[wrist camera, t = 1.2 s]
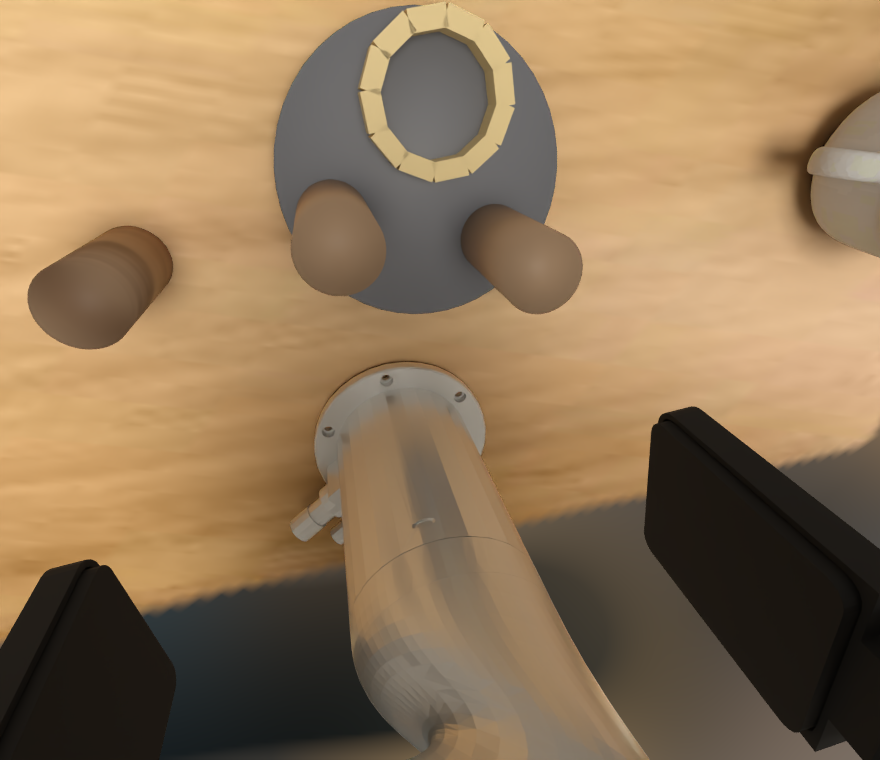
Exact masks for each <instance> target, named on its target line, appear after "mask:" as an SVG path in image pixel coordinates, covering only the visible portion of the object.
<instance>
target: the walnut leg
mask: <svg viewBox="0 0 880 760" xmlns="http://www.w3.org/2000/svg"><path fill="white" fill-rule="evenodd" d="M172 272H173V262H172V258H171V255H170V253H169V251H168V249H167V248H166V246H165V245H164V244H163V242H162V241H161V240H160V239H159V238H157V237H156V236H155V235H153V234H152V233H150V232H148V231H146V230H144V229H141V228H138V227H133V226H121V227H116V228H113V229H111V230H109V231H107V232H105V233H104V234H102V235H100V236H99V237H97V238H95V239H94V240H92V241H90V242H88V243H87V244H85V245H83V246H82V247H80V248H78V249H77V250H75V251H73V252H72V253H70V254H68V255H67V256H65V257H63V258H62V259H60V260H58V261H57V262H55V263H53V264H52V265H50V266H48V267H47V268H45V269H43V270H42V271H40V272H39V273H38V274H37V275H36V276H35V277H34V279H33V280H32V282H31V284H30V286H29V289H28V305H29V309H30V312H31V314H32V316H33V318H34V319H35V321H36V322H37V324H38V325H39V326H40V327H41V328H42V329H43V330H44V331H45V332H46V333H47V334H48V335H50V336H51V337H52V338H54V339H56V340H57V341H59V342H61V343H63V344H66V345H68V346H71V347H75V348H80V349H100V348H105V347H108V346H110V345H113V344H115V343H116V342H118V341H119V340H120V339H122V338H123V337H124V335H125V334H126V333H127V332H128V331H129V329H130V328H131V327H132V326H133V325H134V323H135V322H136V321H137V320H138V319H139V317H140V316H141V315H142V314H143V313H144V311H145V310H146V309H147V308H148V307H149V305H150V304H151V303H152V302H153V300H154V299H155V298H156V297H157V296H158V294H159V293H160V292H161V291H162V290H163V288H164V287H165V286H166V285H167V284H168V282H169V280H170V278H171V276H172Z"/></svg>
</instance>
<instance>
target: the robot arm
mask: <svg viewBox="0 0 880 760" xmlns="http://www.w3.org/2000/svg"><path fill="white" fill-rule="evenodd" d="M384 375H388V377H386V378H383V377H382V376H384ZM458 392H459V393H458ZM456 393H458V394H456ZM326 427H329V428H326ZM485 434H486V427H485V421H484V415H483V413H482V410H481V408H480V405H479V403H478V401H477V400H476V398H475V396H474V395H473V393H472V392H471V390H470V389H469V388H468V387H467V386H466V385H465V384H464V383H463V382H462V381H461V380H460V379H458V378H457V377H456V376H454V375H453V374H452V373H450V372H448V371H445V370H443V369H441V368H439V367H437V366H432V365H428V364H424V363H416V362H398V363H390V364H385V365H381V366H378V367H375V368H371V369H369V370H367V371H365V372H363V373H361V374H359V375H357V376H355V377H353V378H352V379H351V380H349V381H348V382H346V383H345V384H344V385H342V386H341V387H340V388H339V389H338V390H337V391H336V392H335V393H334V394H333V396H332V397H331V398H330V399H329V400H328V402H327V404H326V405H325V407H324V408H323V410H322V412H321V414H320V417H319V419H318V422H317V425H316V430H315V438H314V448H315V458H316V463H317V467H318V469H319V471H320V473H321V475H322V477H323V479H324V481H325V482H326V483H327V484H326V485H325V486H324V487H323V488H322V489H321V490H320V491H319V498H318V499H317V500H316V501H315V502H313V503H312V504H311V505H308V506H307V507H306V508H305V509H304V510H303V511H301V512H300V513H299V514H298V515H297V516H296V517H294V518H293V519H292V520H291V521H290V527H291V530H292V532H293V533H294V535H295V536H296V537H297V538H299V539H300V540H302V541H305V542H306V541H308V540H310V539H311V538H312V537H313V536H314V535H315V534H317V533H318V532H319V531H320V530H321V529H323V528H324V527H325V526H326V524H327V523H328V522H329V521H330V520H331V519H333V518H334V517H335V516H336V517H342V521H341V522H339V523H338V524H337V525H336V526H335V527H333V528H332V529H331V532H330V533H331V536H332V538H333V539H334V541H336V542H337V543H338V544H343V543H344V554H345V567H346V580H347V593H348V607H349V622H350V634H351V646H352V654H353V660H354V664H355V668H356V671H357V674H358V677H359V680H360V682H361V684H362V686H363V688H364V690H365V692H366V694H367V696H368V698H369V699H370V701H371V702H372V704H373V705H374V706H375V708H376V709H377V710H378V712H379V713H380V714H381V715H382V717H383V718H384V719H385V720H386V721H387V722H388V723H389V724H390V725H391V726H392V727H393V728H394V729H395V730H396V731H397V732H398V733H399V734H400V735H401V736H402V737H404V738H405V739H406V740H407V741H409V742H410V743H411V744H412V745H413V746H414V747H416V748H417V749H418V750H419V751H420V752H421V753H420V754H419V755H417V756H415V757H412V758H410V759H408V760H650V759H649V758H648V756H647V755H646V754H645V752H644V751H643V749H642V748H641V747H640V745H639V744H638V742H637V741H636V740H635V738H634V737H633V735H632V734H631V732H630V731H629V730H628V728H627V727H626V725H625V724H624V722H623V721H622V719H621V718H620V716H619V715H618V714H617V712H616V711H615V709H614V708H613V706H612V705H611V703H610V702H609V700H608V699H607V697H606V696H605V694H604V693H603V691H602V689H601V688H600V686H599V685H598V683H597V681H596V680H595V678H594V677H593V675H592V673H591V672H590V670H589V669H588V667H587V666H586V664H585V662H584V660H583V659H582V657H581V655H580V653H579V652H578V650H577V648H576V646H575V644H574V643H573V641H572V639H571V637H570V636H569V634H568V632H567V630H566V628H565V626H564V624H563V622H562V620H561V618H560V616H559V614H558V613H557V610H556V609H555V607H554V605H553V603H552V601H551V599H550V597H549V595H548V593H547V591H546V589H545V587H544V585H543V583H542V580H541V578H540V576H539V574H538V572H537V570H536V569H535V567H534V565H533V562H532V560H531V558H530V556H529V554H528V552H527V550H526V548H525V546H524V544H523V542H522V540H521V538H520V536H519V534H518V532H517V530H516V528H515V525H514V523H513V521H512V519H511V517H510V515H509V513H508V511H507V509H506V507H505V505H504V503H503V501H502V499H501V497H500V495H499V493H498V491H497V489H496V487H495V484H494V482H493V480H492V478H491V476H490V474H489V472H488V470H487V468H486V466H485V464H484V462H483V460H482V458H481V455H482V451H483V448H484V444H485ZM644 535H645V539H646V542H647V545H648V547H649V549H650V550H651V552H652V553H653V554H654V555H655V557H656V558H657V560H658V561H659V562H660V564H661V565H662V566H663V568H664V569H665V570H666V571H667V573H668V574H669V575H670V577H671V578H672V579H673V581H674V582H675V583H676V584H677V586H678V587H679V588H680V590H681V591H682V592H683V594H684V595H685V596H686V598H687V599H688V600H689V602H690V603H691V604H692V605H693V607H694V608H695V610H696V611H697V612H698V613H699V615H700V616H701V617H702V619H703V620H704V621H705V623H706V624H707V625H708V626H709V628H710V629H711V630H712V632H713V633H714V634H715V636H716V637H717V638H718V640H719V641H720V642H721V644H722V645H723V646H724V648H725V649H726V650H727V651H728V653H729V654H730V655H731V657H732V658H733V659H734V661H735V662H736V663H737V665H738V666H739V667H740V668H741V670H742V671H743V672H744V674H745V675H746V676H747V678H748V679H749V680H750V681H751V683H752V684H753V685H754V687H755V688H756V689H757V691H758V692H759V693H760V695H761V696H762V697H763V699H764V700H765V701H766V703H767V704H768V705H769V706H770V708H771V709H772V710H773V712H774V713H775V714H776V716H777V717H778V718H779V720H780V721H781V722H782V723H783V724H784V725H785V726H786V727H787V728H788V729H789V730H791V731H793V732H800V733H801V734H802V736H803V737H804V738H805V739H806V741H807V742H808V743H809V745H810V746H811V747H812V748H813V749H814V751H815V752H816V751H819V750H822V749H824V748H827V747H830V746H833V745H836V744H839V743H841V742H844V741H847V742H848V743H849V744H850V745H851V747H852V748H853V749H854V750H855V751H856V753H857V754H858V755H859V756H860V757H861V758H862V760H880V549H879V548H877V547H876V546H875V545H874V544H872V543H871V542H870V541H869V540H867V539H866V538H865V537H864V536H862V535H861V534H860V533H858V532H857V531H856V530H855V529H853V528H852V527H851V526H849V525H848V524H847V523H846V522H844V521H843V520H842V519H840V518H839V517H838V516H836V515H835V514H834V513H833V512H831V511H830V510H829V509H828V508H826V507H825V506H824V505H823V504H821V503H820V502H819V501H817V500H816V499H815V498H814V497H812V496H811V495H810V494H808V493H807V492H806V491H805V490H803V489H802V488H801V487H799V486H798V485H797V484H796V483H794V482H793V481H792V480H790V479H789V478H788V477H787V476H785V475H784V474H783V473H782V472H780V471H779V470H778V469H776V468H775V467H774V466H773V465H771V464H770V463H769V462H767V461H766V460H765V459H764V458H762V457H761V456H760V455H759V454H757V453H756V452H755V451H753V450H752V449H751V448H750V447H748V446H747V445H746V444H744V443H743V442H742V441H741V440H739V439H738V438H737V437H735V436H734V435H733V434H732V433H730V432H729V431H728V430H726V429H725V428H724V427H723V426H721V425H720V424H719V423H718V422H716V421H715V420H714V419H712V418H711V417H710V416H709V415H707V414H706V413H705V412H703V411H702V410H701V409H699V408H697V407H692V406H691V407H688V408H684V409H680V410H676V411H672V412H668V413H664V414H662V415H661V416H660V418H659V421H658V424H655V425H654V426H653V427H652V431H651V443H650V457H649V471H648V485H647V499H646V513H645V526H644ZM175 687H176V674H175V669H174V666H173V664H172V662H171V661H170V659H169V657H168V656H167V654H166V653H165V651H164V650H163V648H162V647H161V645H160V644H159V642H158V640H157V639H156V637H155V636H154V634H153V633H152V631H151V630H150V628H149V626H148V625H147V623H146V622H145V620H144V619H143V617H142V616H141V614H140V613H139V611H138V609H137V608H136V606H135V605H134V603H133V602H132V600H131V599H130V597H129V596H128V594H127V592H126V591H125V589H124V588H123V586H122V585H121V583H120V582H119V580H118V579H117V577H116V576H115V574H114V572H113V571H112V570H111V568H110V567H109V566H106V565H102V566H100V565H99V564H98V563H97V562H96V561H94V560H92V559H90V560H83V561H79V562H76V563H72V564H68V565H64V566H60V567H56V568H52V569H49V570H48V571H46V572H45V573H44V574H43V576H42V577H41V578H40V580H39V582H38V583H37V585H36V587H35V589H34V590H33V592H32V594H31V596H30V598H29V599H28V601H27V603H26V605H25V606H24V608H23V610H22V612H21V613H20V615H19V617H18V619H17V620H16V622H15V624H14V626H13V627H12V629H11V631H10V633H9V634H8V636H7V638H6V640H5V641H4V643H3V645H2V647H1V649H0V760H159V757H160V753H161V748H162V744H163V740H164V735H165V731H166V727H167V722H168V718H169V714H170V709H171V705H172V701H173V696H174V692H175Z"/></svg>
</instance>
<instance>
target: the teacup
mask: <svg viewBox="0 0 880 760" xmlns="http://www.w3.org/2000/svg"><path fill="white" fill-rule="evenodd" d="M807 171H808V173H809V174H813V178H812V184H811V205H812V210H813V214H814V216H815V218H816V221H817V223H818V224H819V225H820V227H821V228H822V229H823V230H824V231H825V232H826V233H827V234H828V235H829V236H831V237H832V238H834V239H835V240H837V241H839V242H841V243H843V244H845V245H847V246H850V247H852V248H855V249H858V250H860V251H863V252H866V253H868V254H871V255H874V256H877V257H880V92H879V93H877V94H875V95H874V96H872V97H871V98H869V99H868V100H866V101H865V102H864V103H862V104H861V105H860V106H858V107H857V108H856V109H855V110H854V111H853V112H852V113H851V114H850V115H849V116H848V117H847V118H846V119H845V120H844V121H843V122H842V123H841V124H840V126H839V127H838V128H837V129H836V131H835V132H834V133H833V134H832V136H831V137H830V138H829V140H828V141H827V143H826V144H825V146H824V147H820V148H817V149H816V150H815V151H814V152H813V154H812V155H811V157H810V159H809V162H808V165H807Z"/></svg>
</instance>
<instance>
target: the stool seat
mask: <svg viewBox="0 0 880 760" xmlns="http://www.w3.org/2000/svg"><path fill="white" fill-rule="evenodd" d="M484 22H485V20H484V19H482V18H480V17H478V16H476V15H474V14H472V13H470V12H468V11H466V10H464V9H462V8H460V7H458V6H456V5H454V4H452V3H450V2H449V3H447V4H446V2H440V3H435V4H429V5H424V6H423V5H407V6H397V7H390V8H387V9H383V10H379V11H375V12H372V13H369V14H367V15H365V16H363V17H360V18H358V19H356V20H354V21H352V22H350V23H349V24H347V25H346V26H344V27H343V28H341V29H339V30H338V31H336V32H335V33H333V34H332V35H331V36H330V37H329V38H328V39H327V40H326V41H325V42H323V43H322V44H321V45H320V46H319V47H318V48H317V49H316V50H315V51H314V53H313V54H312V55H311V56H310V57H309V59H308V60H307V61H306V62H305V63H304V65H303V66H302V68H301V70H300V71H299V73H298V75H297V76H296V78H295V79H294V81H293V83H292V85H291V87H290V89H289V92H288V94H287V96H286V99H285V101H284V103H283V106H282V110H281V113H280V117H279V121H278V124H277V130H276V137H275V144H274V174H275V183H276V190H277V194H278V198H279V203H280V207H281V210H282V213H283V215H284V218H285V221H286V223H287V226H288V228H289V230H290V232H291V234H292V240H291V255H292V259H293V263H294V265H295V268H296V270H297V271H298V273H299V274H300V276H301V277H302V278H303V280H304V281H305V282H306V283H308V284H309V285H310V286H311V287H313V288H314V289H316V290H318V291H320V292H322V293H325V294H328V295H333V296H347V295H348V296H350V297H352V298H354V299H356V300H358V301H360V302H362V303H364V304H367V305H370V306H373V307H375V308H378V309H381V310H386V311H391V312H396V313H408V314H422V313H433V312H439V311H445V310H449V309H452V308H455V307H458V306H461V305H464V304H466V303H468V302H470V301H473V300H475V299H477V298H479V297H480V296H482V295H484V294H485V293H487V292H489V291H490V290H492V289H493V288H494V287H495V288H496V289H497V290H498V291H499V292H500V293H501V294H502V295H503V296H505V297H506V298H507V299H508V300H509V301H510V302H511V303H512V304H513V305H514V306H515V307H516V308H518V309H519V310H521V311H523V312H526V313H530V314H543V313H548V312H551V311H553V310H555V309H557V308H559V307H560V306H562V305H563V304H564V303H566V302H567V301H568V300H569V299H570V298H571V296H572V295H573V294H574V292H575V291H576V289H577V287H578V285H579V282H580V280H581V276H582V268H583V264H582V257H581V254H580V251H579V249H578V247H577V245H576V244H575V243H574V242H573V241H572V240H571V239H570V238H569V237H567V236H566V235H564V234H562V233H560V232H558V231H556V230H554V229H552V228H550V227H548V226H546V225H544V223H545V220H546V217H547V214H548V212H549V209H550V206H551V202H552V197H553V193H554V189H555V181H556V172H557V146H556V138H555V130H554V125H553V121H552V117H551V113H550V109H549V107H548V104H547V101H546V99H545V96H544V93H543V91H542V89H541V87H540V85H539V83H538V81H537V80H536V78H535V76H534V74H533V72H532V71H531V70H530V68H529V67H528V65H527V64H526V62H525V61H524V60H523V58H522V57H521V56H520V55H519V54H518V53H517V51H516V50H515V49H514V48H513V47H512V46H511V45H510V44H509V43H508V42H507V41H506V40H505V39H503V38H502V37H501V36H500V35H498V34H497V33H496V32H495V31H493V30H492V28H491V26H490V25H489V23H486V24H484Z"/></svg>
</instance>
